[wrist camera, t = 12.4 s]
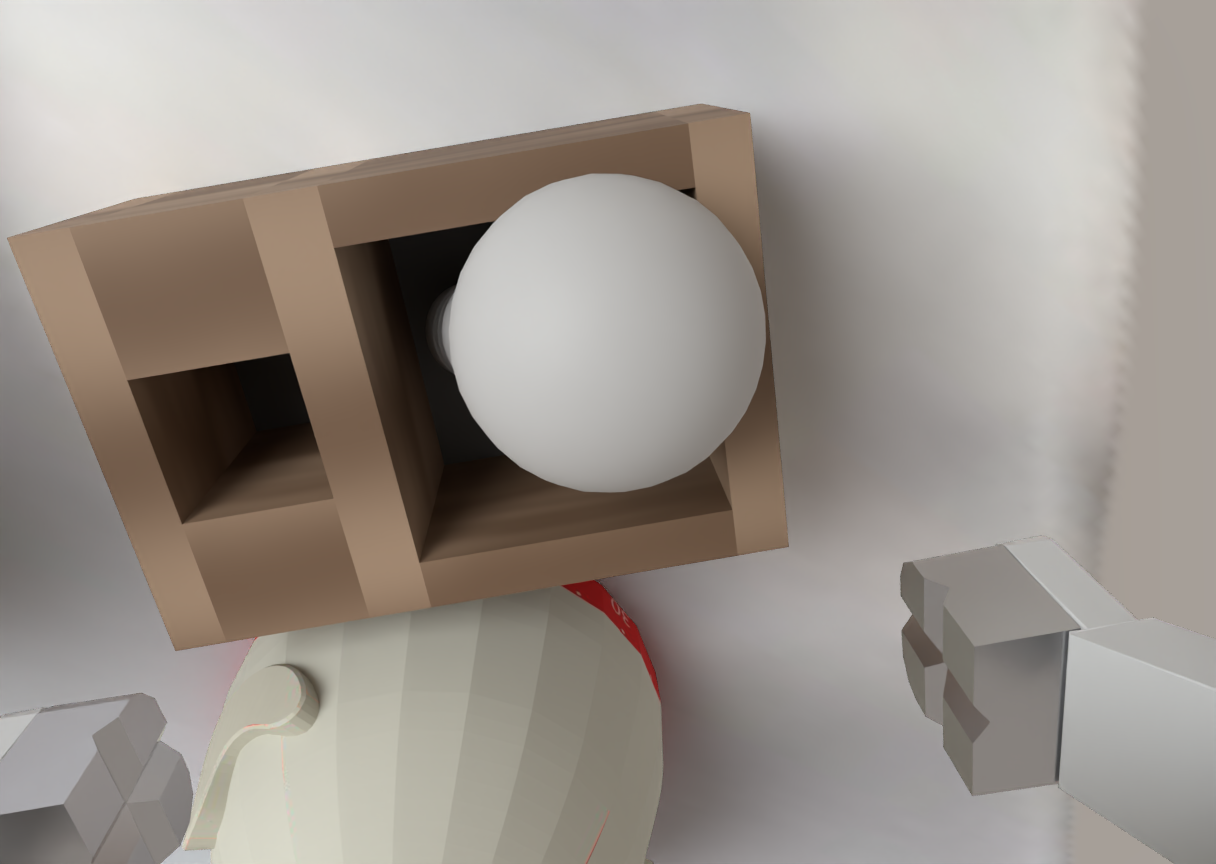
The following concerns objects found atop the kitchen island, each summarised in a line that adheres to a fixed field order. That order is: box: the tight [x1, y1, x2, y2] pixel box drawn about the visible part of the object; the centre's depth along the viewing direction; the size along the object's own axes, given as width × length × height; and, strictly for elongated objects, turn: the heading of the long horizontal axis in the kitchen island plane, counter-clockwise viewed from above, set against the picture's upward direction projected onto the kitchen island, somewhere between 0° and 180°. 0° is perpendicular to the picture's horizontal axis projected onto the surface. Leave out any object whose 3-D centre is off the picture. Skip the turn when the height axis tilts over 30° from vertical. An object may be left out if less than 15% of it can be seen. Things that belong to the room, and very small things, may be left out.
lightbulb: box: [425, 174, 766, 493], centre depth 20 cm, size 6×6×11 cm
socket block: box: [7, 104, 789, 651], centre depth 22 cm, size 10×15×6 cm, turn 99°
